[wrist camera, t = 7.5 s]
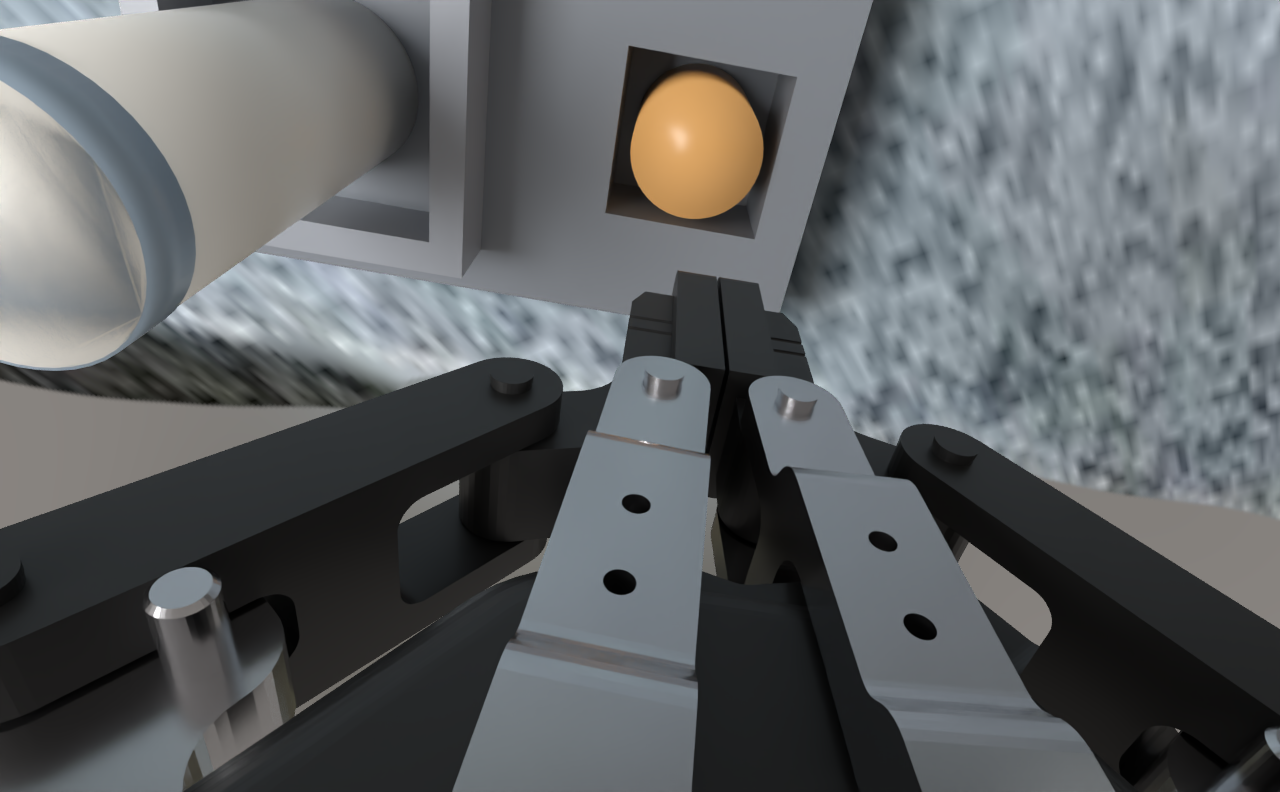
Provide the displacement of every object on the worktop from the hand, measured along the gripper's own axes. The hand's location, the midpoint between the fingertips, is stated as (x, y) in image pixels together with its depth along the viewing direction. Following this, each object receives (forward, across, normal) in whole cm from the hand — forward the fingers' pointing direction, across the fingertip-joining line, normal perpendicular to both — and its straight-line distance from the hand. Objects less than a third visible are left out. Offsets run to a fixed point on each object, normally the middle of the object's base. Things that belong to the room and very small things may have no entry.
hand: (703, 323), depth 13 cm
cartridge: (+11, +11, -1) cm, 15 cm away
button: (+14, 0, -1) cm, 14 cm away
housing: (+15, +6, -1) cm, 16 cm away
